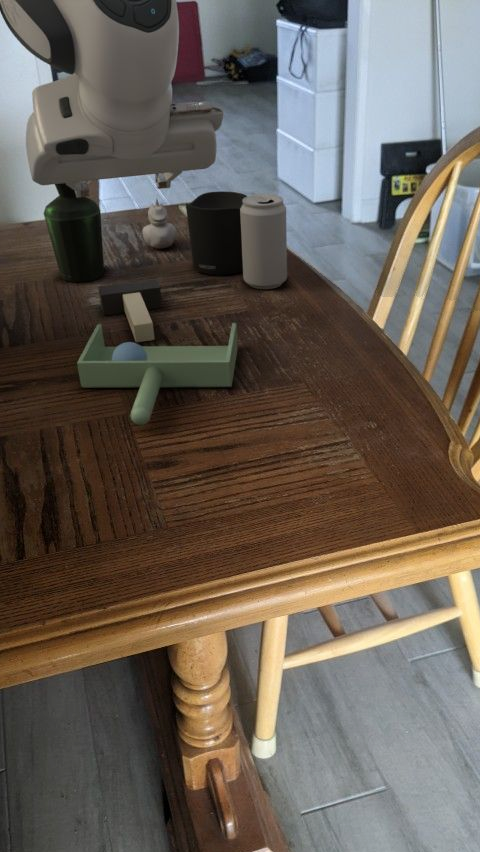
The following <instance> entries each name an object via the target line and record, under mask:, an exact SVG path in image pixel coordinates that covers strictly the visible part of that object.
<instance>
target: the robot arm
mask: <svg viewBox="0 0 480 852" xmlns="http://www.w3.org/2000/svg"><path fill="white" fill-rule="evenodd" d="M0 14H1V16H2V17H1V18H2V19H3V20H4V23H5V24H6V26H7V28H8V29H9V31H10V32H11V33H12V35H13V36H14V38H15V39H16V40H17V41H18V42H19V43H20V44H21V46H23V47H24V49H26V50H27V51H28V52H29V53H31V54H32V55H33V56H34V57H35V58H36V59H39V61H42V62H44V63H46V64H47V65H49V66H51V67H52V68H55V69H56V70H58V71H60V72H63V73H64V74H68V75H67V76H66V77H62V78H59V79H57V80H54V81H51V82H48V83H44V84H41V85H38V86H36V87H35V88H33V90H32V92H31V93H32V94H31V97H32V109H33V111H32V113H31V114H30V115H29V117H28V119H27V122H26V131H25V150H26V156H27V162H28V168H29V172H30V176H31V180H32V181H33V183H36V184H38V185H40V186H50V185H55V184H61V183H66V185H67V186H69V187H70V188H72V189H73V190H75V193H76V197H77V198H79V197H87V198H88V197H90V187H89V183H88V181H90V182H91V181H99V180H108V179H117V178H118V179H119V178H129V177H138V176H149V175H154V180H155V183H156V188H157V189H158V190H161V189H162V190H163V189H170V188H171V184H172V182H173V181H174V180H175V179H176V178H177V177H178V176H180V175H181V174H183V172H187V171H197V170H206V169H208V168H210V167H211V166H213V165H214V164H215V162H216V158H217V147H218V145H217V144H218V143H217V135H216V132H217V131H218V130H219V129H220V128H221V127H222V124H223V119H224V111H223V109H222V107H220V106H219V105H216V104H212V102H211V101H208V100H201V101H195V102H194V101H192V102H177V103H172V101H173V86H172V81H173V79H174V77H175V73H176V70H177V69H176V68H177V63H178V53H179V52H178V51H179V42H180V41H179V39H180V22H179V10H178V3H177V0H0Z"/></svg>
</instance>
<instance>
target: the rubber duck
mask: <svg viewBox="0 0 480 852" xmlns="http://www.w3.org/2000/svg"><path fill="white" fill-rule="evenodd" d="M147 215H148V221H149V223H150V224H147V225H146V226H143V227H142V231H141V232H142V237H143V240H144V241H145V242H146V244H148V245H149V246H151V247H152V248H153V249H159V250H161V249H166V248H169V247H170V246H172V245H174V244H173V243H174V242H175V241H176V239H177V228H176V227H175V225H174V224H173V223H169V222H168V220H169V216H168V215H169V214H168V210H167V209H166V207H165V206H164V203H163V202H160V204H159V200H158V198H155V204H154V203H151V204H150V207H149V208H148V211H147Z"/></svg>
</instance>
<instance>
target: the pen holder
mask: <svg viewBox="0 0 480 852" xmlns="http://www.w3.org/2000/svg"><path fill="white" fill-rule="evenodd" d="M247 196H248V195H246V194H245V193H240V192H235V191H224V190H223V191H221V190H219V191H208V192H204V193H202V194H199V195H198V196H196V198H194V200H192V201H191V202H190V203H185V210H186V217H187V227H188V234H189V242H190V250H191V257H192V264H193V265H192V266H193V268H194V269H195V270H196V271H197V272H198V273H200V274H203V275H208V276H213V277H214V276H216V277H217V276H218V277H219V276H220V277H221V276H231V275H236V274H240V273H243V259H242V238H241V217H240V209H241V207H242V205H243V202H242V200H243V199H244V198H245V197H247Z"/></svg>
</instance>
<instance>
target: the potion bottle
mask: <svg viewBox="0 0 480 852" xmlns="http://www.w3.org/2000/svg"><path fill="white" fill-rule="evenodd" d="M54 186H55V188H56V191H57V193H58V196H56V197H55V198H54V199H53V200H52V201H50V202H49V203H48V204H47V205H45V208H44V209H43V210H44V211H43V217H44V220H45V224H46V228H47V232H48V235H49V239H50V242H51V245H52V249H53V253H54V256H55V260H56V263H57V267H58V271H59V275H60V277H61V278H62V279H63V280H65V281H67V282H70V283H84V282H90V281H94V280H97V279H99V278H100V277H102V276H103V274H104V272H105V264H104V249H103V248H104V247H103V246H104V245H103V230H102V215H101V214H102V213H101V209H100V206H99V205H98V204H97V202H96V201H95V200H93V199H91V198H89V197H88V196H87V197H79V198H77V197H76V193H75V190H73V189H72V188H70V187H69V186H67V185H66V183H61V184H54ZM60 273H62V274H63V275H62V274H60ZM64 275H65V276H64ZM69 276H70V277H69Z"/></svg>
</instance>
